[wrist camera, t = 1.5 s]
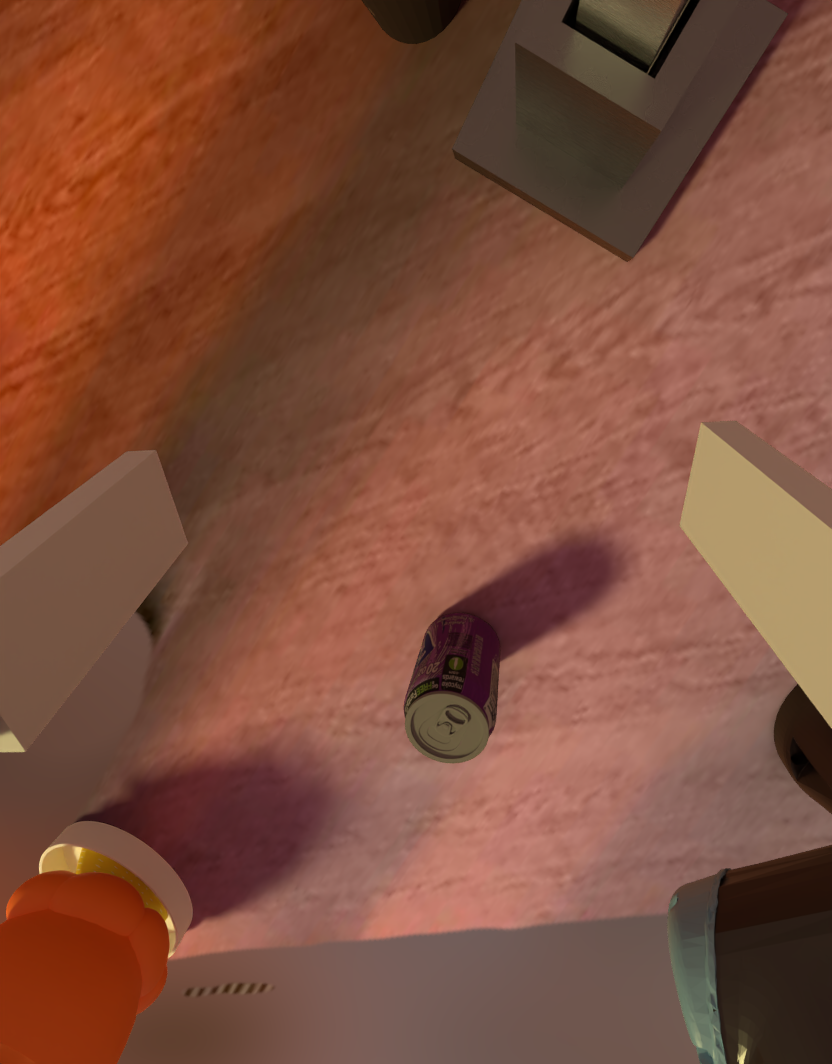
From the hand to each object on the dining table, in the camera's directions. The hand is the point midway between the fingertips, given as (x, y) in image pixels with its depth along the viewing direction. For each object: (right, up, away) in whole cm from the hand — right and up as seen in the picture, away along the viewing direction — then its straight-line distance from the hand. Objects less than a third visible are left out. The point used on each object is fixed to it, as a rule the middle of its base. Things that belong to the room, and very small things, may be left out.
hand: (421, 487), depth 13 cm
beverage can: (+4, -11, +37) cm, 39 cm away
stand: (+12, +27, +21) cm, 36 cm away
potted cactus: (-37, -46, +57) cm, 82 cm away
